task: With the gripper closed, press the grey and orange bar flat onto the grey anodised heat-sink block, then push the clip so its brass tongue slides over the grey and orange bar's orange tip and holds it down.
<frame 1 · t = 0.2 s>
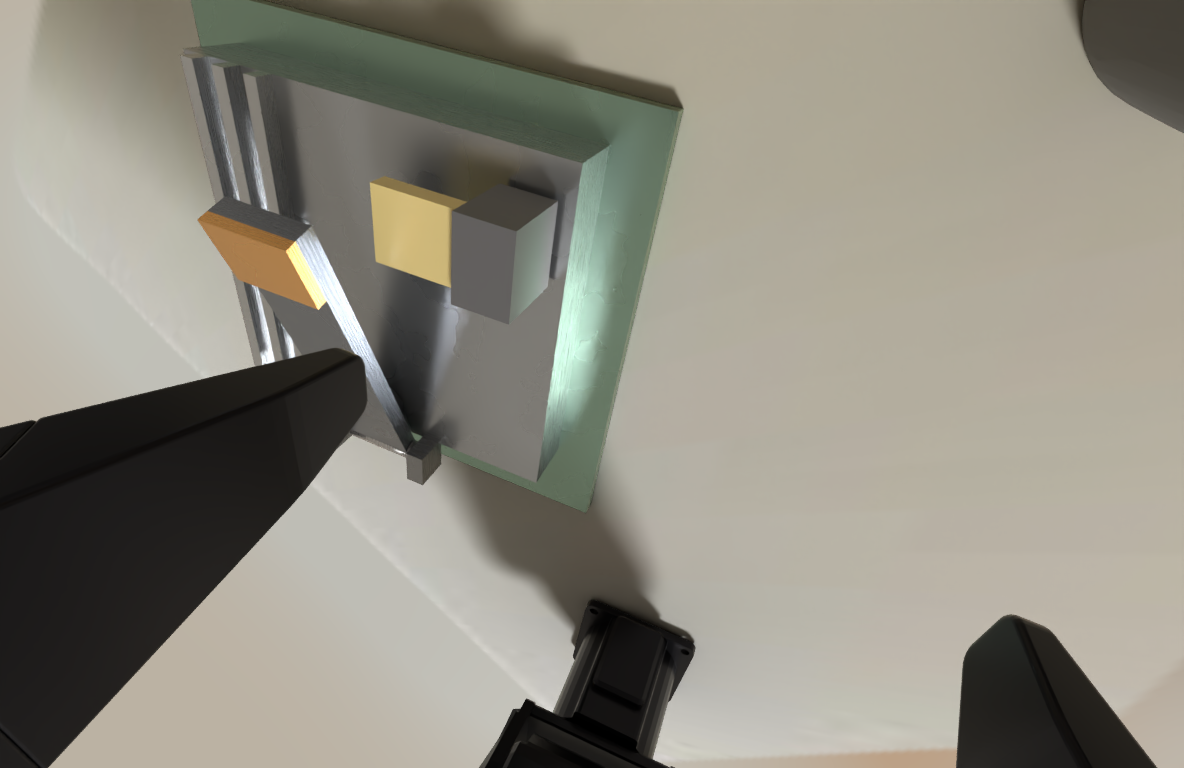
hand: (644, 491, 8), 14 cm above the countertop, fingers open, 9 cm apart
heatsink: (425, 283, 26), on the countertop
clip: (459, 238, 18), point 5 cm above the countertop, slide at 0.0 cm
grey and orange bar: (336, 361, 22), point 6 cm above the countertop, hinge at 20.0°
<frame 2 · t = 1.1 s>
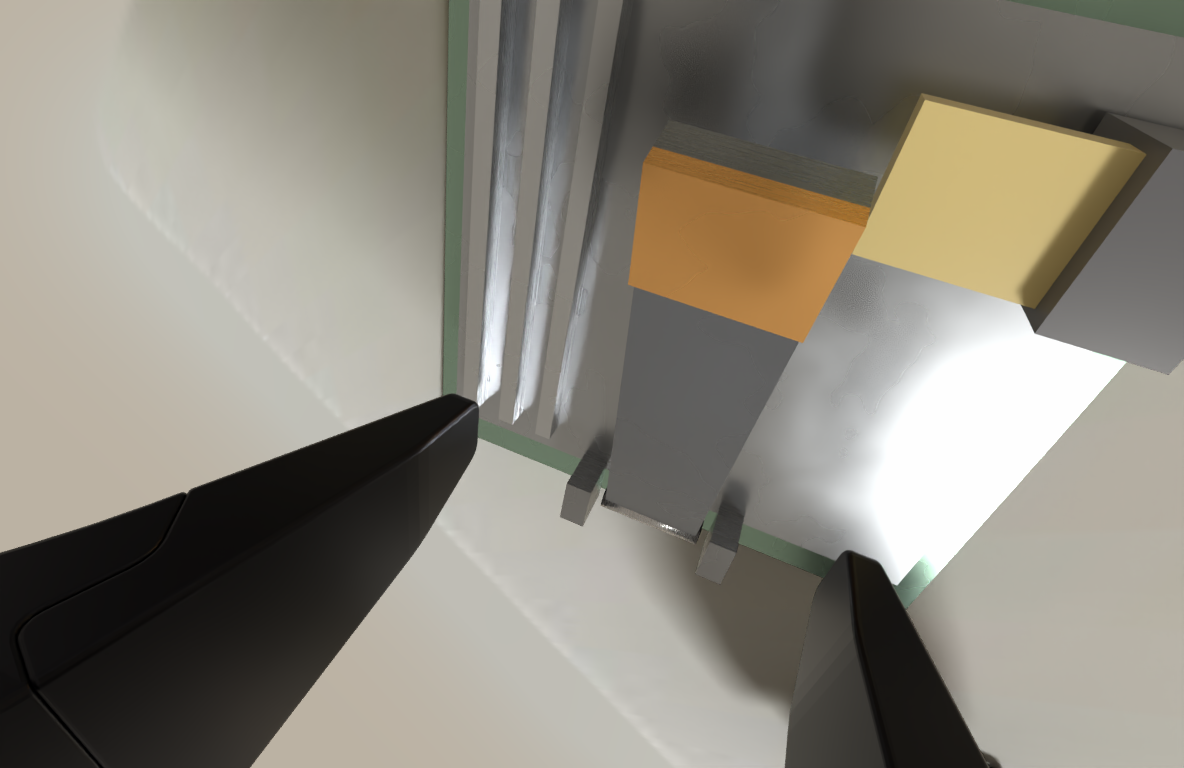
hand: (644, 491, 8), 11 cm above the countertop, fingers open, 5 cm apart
heatsink: (733, 290, 18), on the countertop
clip: (1036, 211, 10), point 5 cm above the countertop, slide at 0.0 cm
grey and orange bar: (682, 416, 14), point 6 cm above the countertop, hinge at 20.0°
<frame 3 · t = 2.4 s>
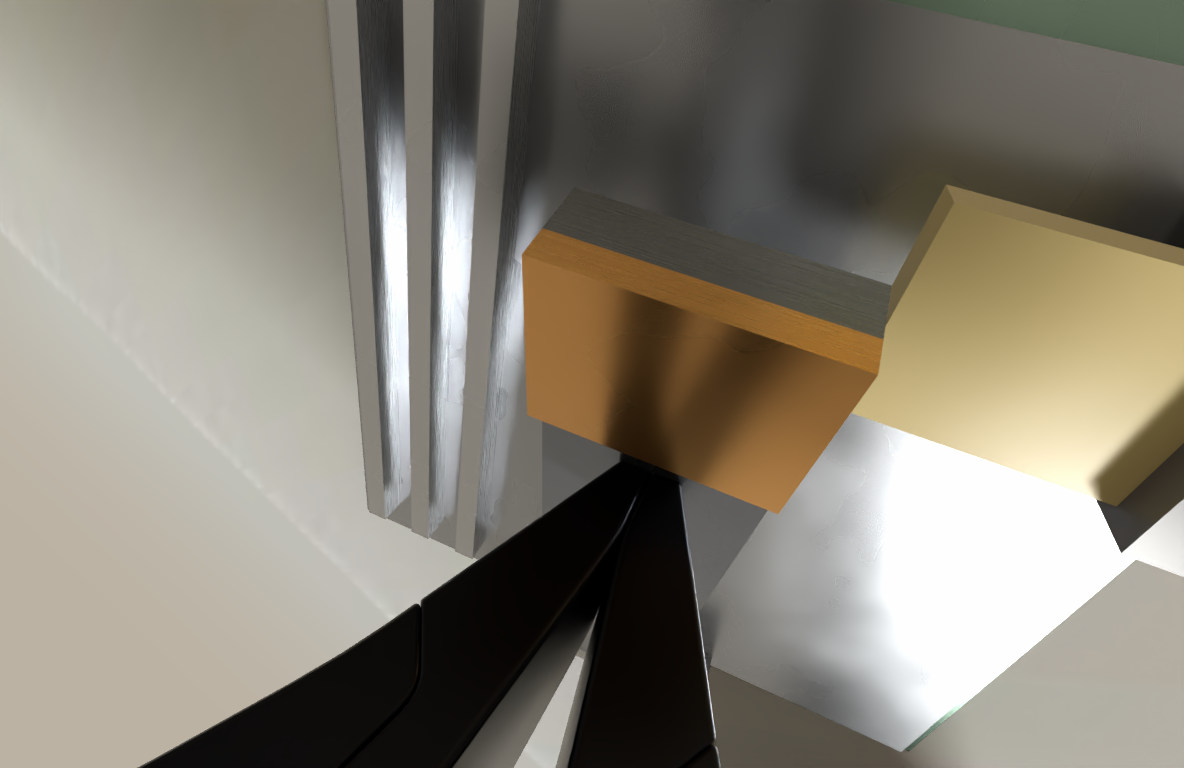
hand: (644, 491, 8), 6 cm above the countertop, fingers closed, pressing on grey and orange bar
heatsink: (698, 381, 14), on the countertop
clip: (1118, 359, 7), point 5 cm above the countertop, slide at 0.0 cm
grey and orange bar: (624, 560, 10), point 5 cm above the countertop, hinge at 16.0°, touching gripper
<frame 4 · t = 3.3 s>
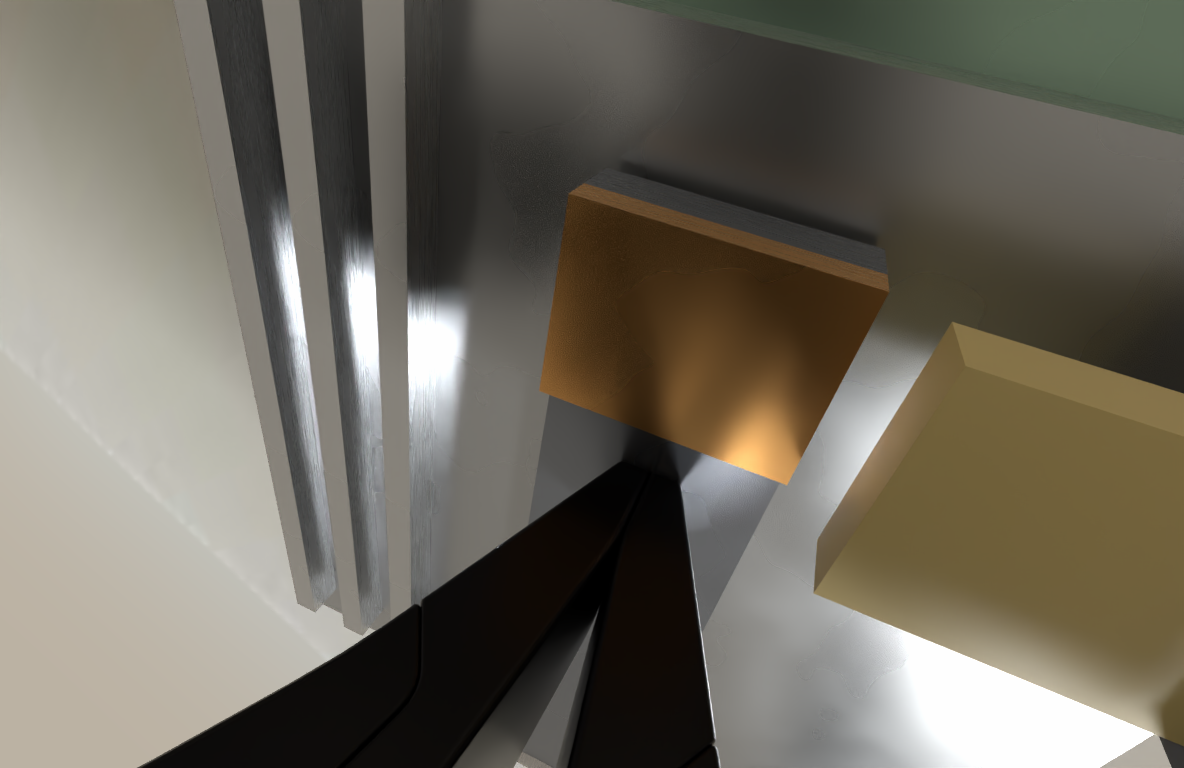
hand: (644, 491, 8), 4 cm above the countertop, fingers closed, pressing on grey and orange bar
heatsink: (665, 461, 13), on the countertop
grey and orange bar: (605, 607, 10), point 4 cm above the countertop, hinge at 0.4°, touching gripper
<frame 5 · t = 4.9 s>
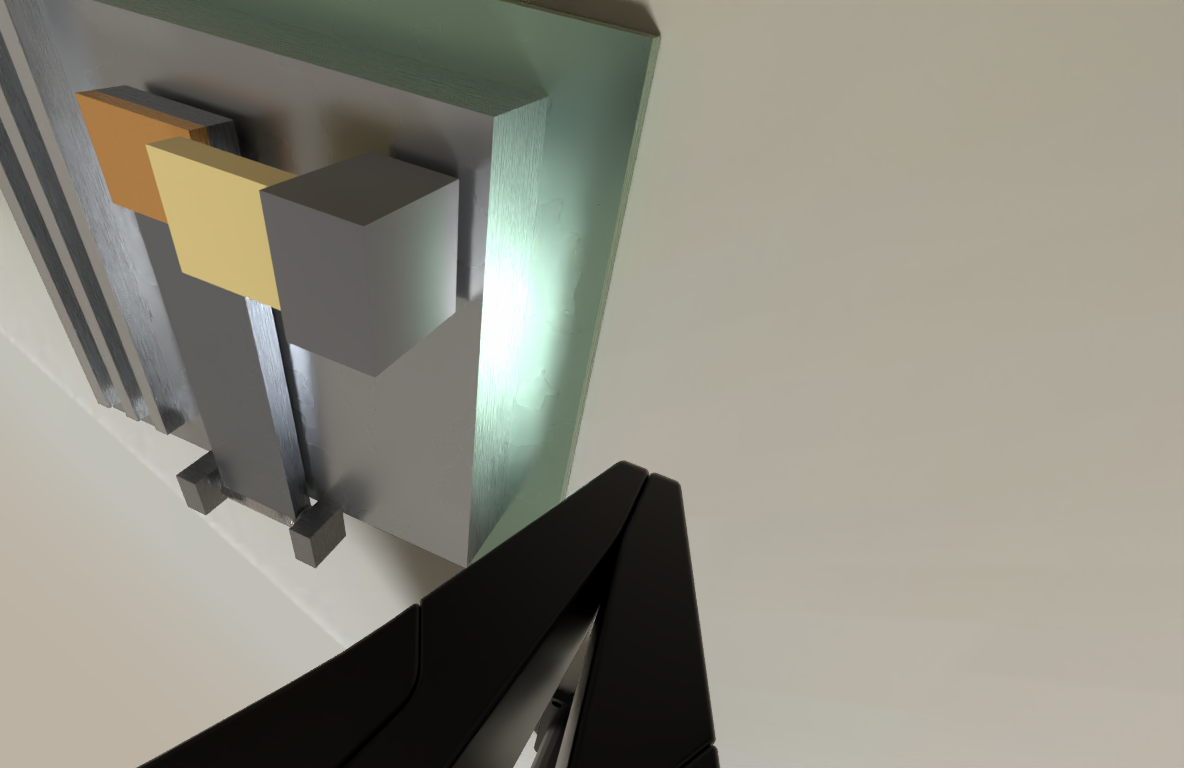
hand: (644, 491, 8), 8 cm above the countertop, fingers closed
heatsink: (318, 298, 19), on the countertop
clip: (305, 236, 12), point 5 cm above the countertop, slide at 0.0 cm
grey and orange bar: (226, 359, 17), point 4 cm above the countertop, hinge at 0.3°
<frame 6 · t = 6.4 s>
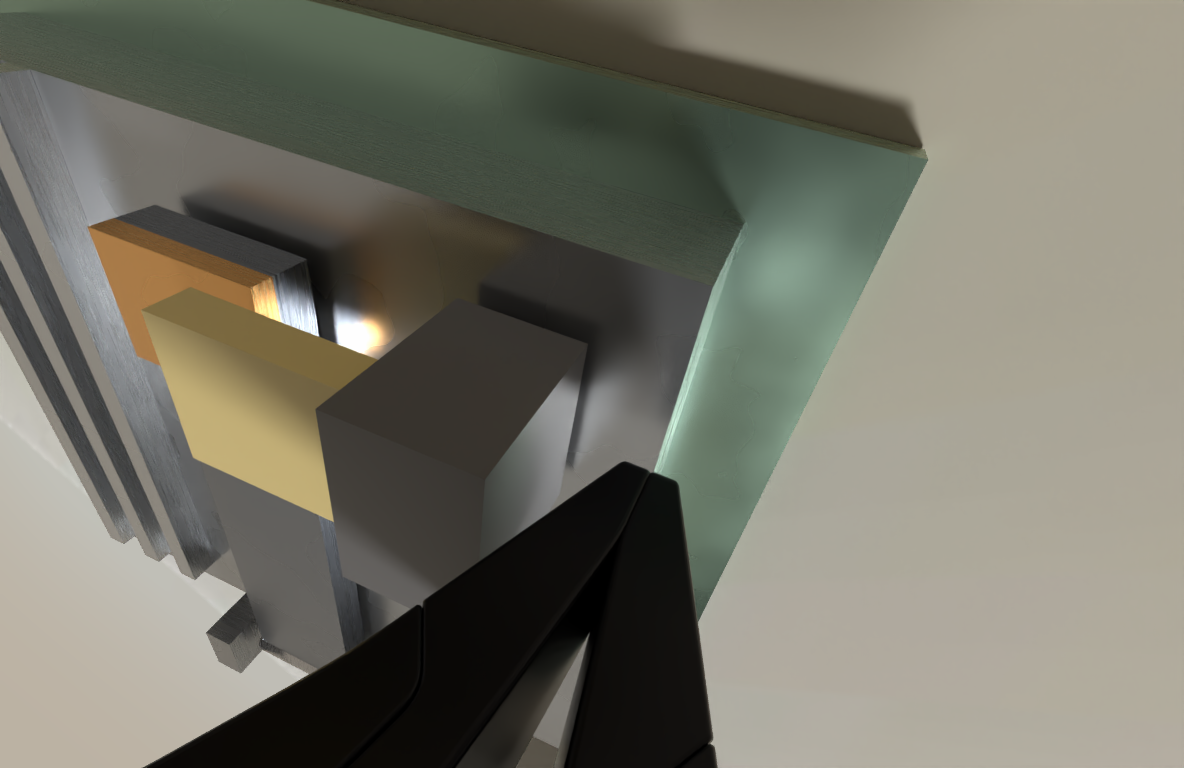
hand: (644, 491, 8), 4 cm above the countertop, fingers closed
heatsink: (380, 419, 16), on the countertop
clip: (367, 420, 8), point 5 cm above the countertop, slide at 0.8 cm, touching gripper
grey and orange bar: (276, 522, 13), point 4 cm above the countertop, hinge at 0.3°
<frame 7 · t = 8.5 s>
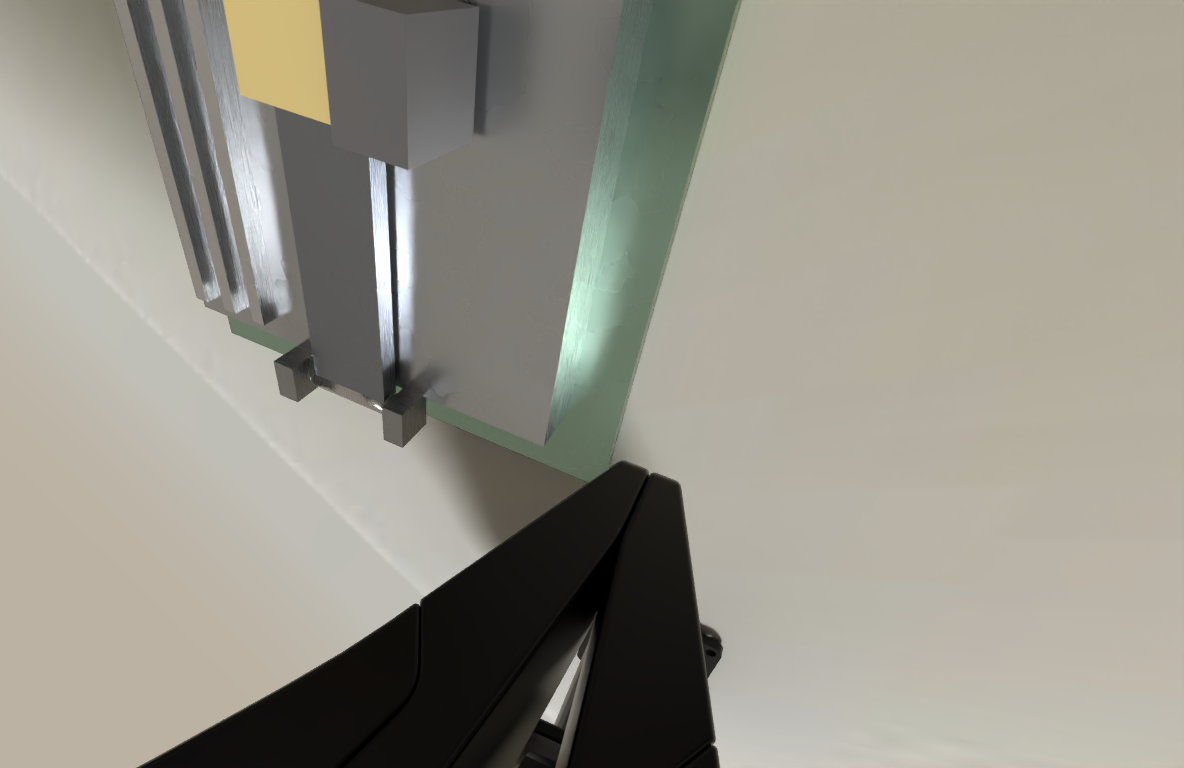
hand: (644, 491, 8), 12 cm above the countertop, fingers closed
heatsink: (408, 196, 21), on the countertop
clip: (348, 58, 14), point 5 cm above the countertop, slide at 2.7 cm
grey and orange bar: (337, 238, 18), point 4 cm above the countertop, hinge at 0.3°
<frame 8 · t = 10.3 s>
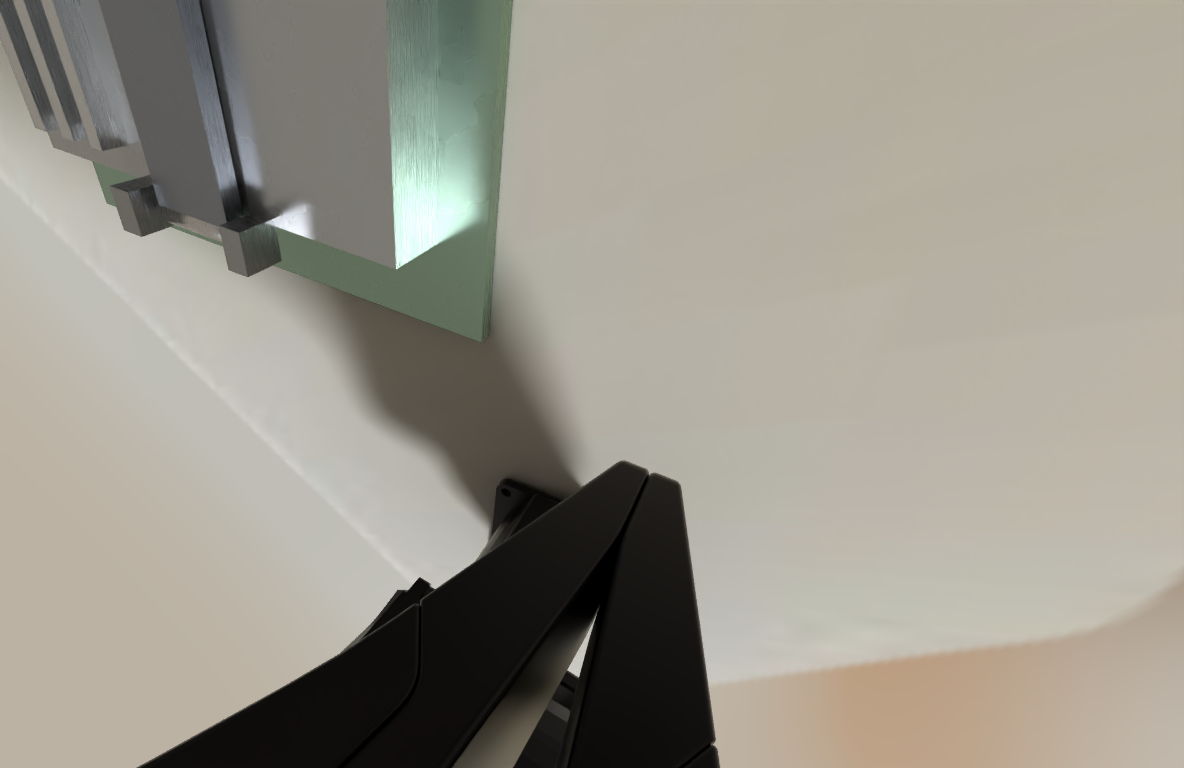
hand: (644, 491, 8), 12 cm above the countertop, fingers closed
heatsink: (249, 2, 19), on the countertop
grey and orange bar: (146, 15, 17), point 4 cm above the countertop, hinge at 0.3°
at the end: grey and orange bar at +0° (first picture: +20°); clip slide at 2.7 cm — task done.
